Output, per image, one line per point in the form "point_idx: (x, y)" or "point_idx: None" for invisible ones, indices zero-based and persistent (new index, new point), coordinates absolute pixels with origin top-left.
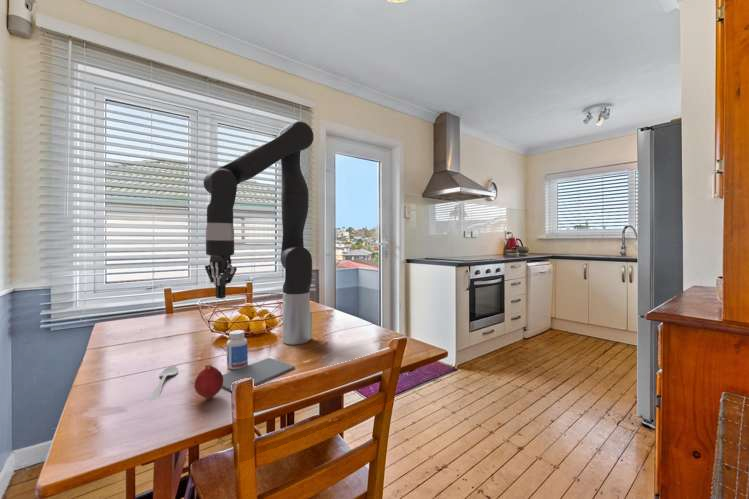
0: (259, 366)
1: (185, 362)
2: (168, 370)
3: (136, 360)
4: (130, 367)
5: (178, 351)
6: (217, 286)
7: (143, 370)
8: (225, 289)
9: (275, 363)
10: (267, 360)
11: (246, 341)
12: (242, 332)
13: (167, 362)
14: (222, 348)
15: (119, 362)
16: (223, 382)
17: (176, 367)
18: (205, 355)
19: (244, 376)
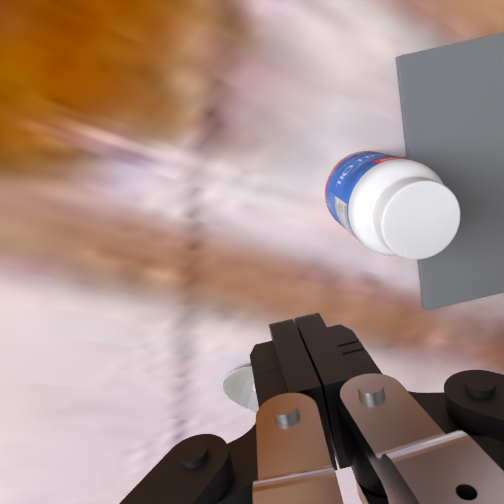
0: (453, 134)
1: (180, 326)
2: (239, 388)
3: (38, 449)
4: (107, 466)
5: (16, 321)
6: (346, 460)
7: (167, 439)
8: (369, 358)
9: (477, 66)
10: (423, 77)
11: (436, 174)
12: (455, 201)
13: (135, 374)
14: (95, 161)
15: (25, 489)
16: (479, 284)
17: (244, 370)
18: (147, 249)
19: (491, 216)
